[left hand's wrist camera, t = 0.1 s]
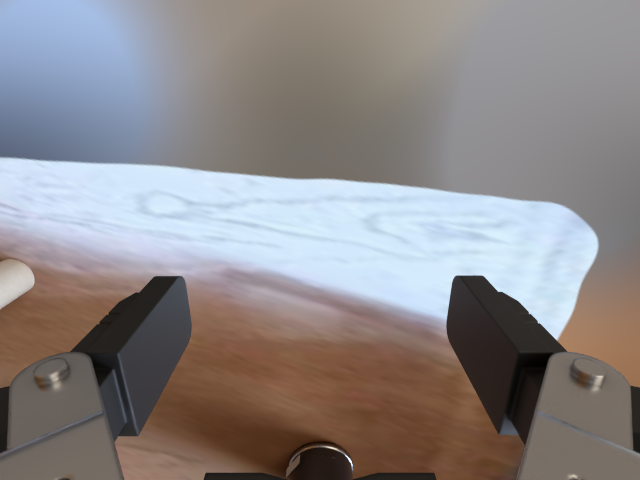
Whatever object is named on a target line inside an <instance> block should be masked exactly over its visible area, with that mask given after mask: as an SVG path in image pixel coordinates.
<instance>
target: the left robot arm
mask: <svg viewBox="0 0 640 480" xmlns="http://www.w3.org/2000/svg"><path fill="white" fill-rule="evenodd" d="M447 335H448V339H449V342H450V344H451V346H452V348H453V349H454V351H455V353H456V355H457V357H458V359H459V361H460V363H461V365H462V366H463V368H464V370H465V372H466V374H467V376H468V378H469V380H470V381H471V383H472V385H473V387H474V389H475V391H476V393H477V395H478V396H479V398H480V400H481V402H482V404H483V406H484V408H485V410H486V412H487V413H488V415H489V417H490V419H491V421H492V423H493V425H494V427H495V428H496V430H497V432H498V434H499V435H519V436H520V438H521V439H522V441H523V443H524V444H525V447H524V451H523V455H522V458H521V462H520V466H519V470H518V473H517V477H516V480H640V388H639V387H634V386H630V384H629V383H628V381H627V380H626V378H625V377H624V376H623V375H622V374H621V373H620V372H619V371H617V370H616V369H615V368H613V367H612V366H610V365H608V364H606V363H605V362H603V361H600V360H598V359H596V358H593V357H590V356H587V355H584V354H579V353H573V352H567V351H566V350H565V349H564V348H563V347H562V346H561V345H560V344H559V343H558V342H557V341H556V339H555V338H554V337H553V336H552V335H551V334H550V333H549V332H548V331H547V330H546V329H545V328H544V327H543V326H542V325H541V324H538V321H537V320H536V319H535V318H534V317H533V316H532V315H531V314H529V312H528V311H527V310H526V309H525V308H524V307H523V306H522V305H521V304H520V303H519V302H518V301H517V300H515V299H513V298H512V297H510V296H508V295H506V294H505V293H503V292H498V291H497V290H496V289H495V288H494V287H493V286H492V285H491V284H490V283H489V282H488V280H487V279H486V278H485V277H484V276H455V277H454V279H453V282H452V288H451V295H450V302H449V309H448V316H447ZM190 336H191V316H190V309H189V303H188V296H187V289H186V283H185V280H184V278H183V277H182V276H155V277H154V278H153V279H152V280H151V281H150V282H149V283H148V284H147V285H146V286H145V287H144V288H143V289H142V290H141V291H140V293H134V294H132V295H131V296H129V297H127V298H125V299H124V300H122V301H120V302H119V303H118V304H117V305H116V306H115V307H114V308H113V309H112V310H111V311H110V312H109V315H106V316H105V317H104V318H103V319H102V320H101V321H100V324H97V325H96V326H95V327H94V328H93V329H92V330H91V331H90V332H89V333H88V334H87V335H86V336H85V337H84V338H83V339H82V340H81V341H80V342H79V343H78V344H77V345H76V346H75V347H74V348H73V349H72V350H71V352H66V353H60V354H56V355H53V356H49V357H47V358H44V359H42V360H39V361H37V362H35V363H34V364H32V365H30V366H28V367H27V368H25V369H24V370H23V371H21V372H20V373H19V374H18V375H17V376H16V377H15V378H14V379H13V381H12V382H11V384H10V386H8V387H4V388H0V480H124V477H123V473H122V470H121V466H120V462H119V458H118V455H117V451H116V447H115V444H114V442H115V440H116V439H117V437H118V436H139V434H140V432H141V430H142V428H143V426H144V424H145V423H146V421H147V419H148V417H149V415H150V413H151V411H152V410H153V408H154V406H155V404H156V402H157V400H158V398H159V397H160V395H161V393H162V391H163V389H164V387H165V385H166V384H167V382H168V380H169V378H170V376H171V374H172V372H173V371H174V369H175V367H176V365H177V363H178V361H179V359H180V358H181V356H182V354H183V352H184V350H185V348H186V346H187V345H188V343H189V340H190ZM288 475H289V480H436V477H435V474H434V473H376V474H372V475H368V476H364V477H361V478H357V479H353V463H352V459H351V457H350V455H349V454H348V453H347V452H346V451H345V450H344V449H343V448H341V447H339V446H337V445H334V444H331V443H324V442H318V443H311V444H308V445H305V446H303V447H301V448H299V449H298V450H297V451H295V452H294V454H293V455H292V457H291V459H290V462H289V467H288V468H287V472H286V477H287V476H288ZM204 480H287V479H283V478H279V477H276V476H272V475H268V474H264V473H206V474H205V477H204Z"/></svg>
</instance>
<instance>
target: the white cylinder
mask: <svg viewBox="0 0 640 480" xmlns="http://www.w3.org/2000/svg"><path fill="white" fill-rule="evenodd" d="M34 283H35V278H34V274H33V272H32V271H31V269H30V268H29V267H28V266H27V265H26V264H24V263H23V262H21V261H18V260H15V259H4V260H2V261H0V310H1V309H2V308H4V307H5V306H7V305H8V304H10V303H11V302H13V301H14V300H16V299H17V298H19V297H20V296H22V295H23V294H25V293H26V292H28V291H29V290H31V289H32V287H33V286H34Z"/></svg>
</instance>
